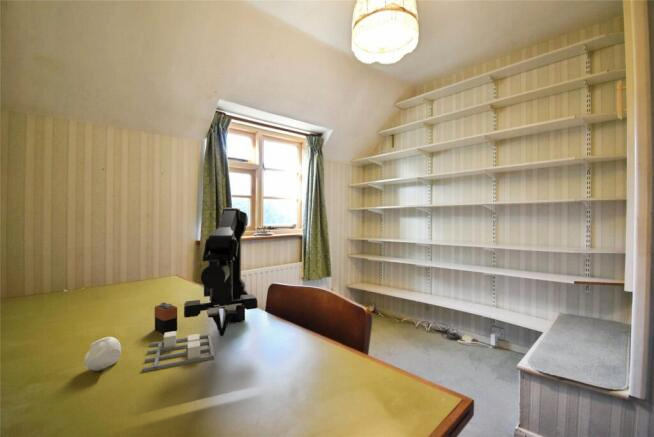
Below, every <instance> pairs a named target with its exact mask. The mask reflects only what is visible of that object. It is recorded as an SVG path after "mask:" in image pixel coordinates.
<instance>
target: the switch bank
mask: <svg viewBox="0 0 654 437" xmlns="http://www.w3.org/2000/svg"><path fill="white" fill-rule="evenodd" d="M199 337H200V339H205V338H207V340H205V341H200V346H203V345H208V347H203V348H200V354H202V353H207V352H209V354H210V355H204V356H200V357H198V358H192V359H188V358H187V359H182V360H177V361H171V362H167V363H161V364H159V363H160V362H159V361H161V360H167V359H172V358H177V357H183V356H188V350H187V351H181V352H176V353H169V354H163V355H161V353H162V352H168V351H169V352H170V351H174V350H180V349H188V343H185V344H179V345H176V346H172V347H166V348H164V347H162V346H164V340H163V341H154V342H150V343H149V344H148V345H149V347H155V346H156V347H157V348H155V349H149V350H146V351H147V352H146V355H150V354H155V356H153V357H146V358H144V363H149V362H154V363H153V365H149V366H145V367H142V368H141V372H142V373H143V372H148V371H155V370H160V369H164V368H171V367H175V366H181V365H186V364H190V363H196V362H201V361H202V362H203V361H207V360H212V359H215V351H214V346H213V340H212V336H211V333H206V334H199ZM181 342H188V336H186V337H181V338H176V343H181ZM149 347H148V348H149Z"/></svg>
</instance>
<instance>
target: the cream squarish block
mask: <svg viewBox="0 0 654 437" xmlns="http://www.w3.org/2000/svg"><path fill="white" fill-rule="evenodd" d="M176 339H177V331H173V332H166V333H165V334H163V341H164V344H163V348H166V347H172V346H177V342H176Z"/></svg>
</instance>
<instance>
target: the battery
mask: <svg viewBox="0 0 654 437" xmlns="http://www.w3.org/2000/svg"><path fill="white" fill-rule="evenodd" d="M154 331H155V332H158V333H160V334H162V335H164V334H165V333H166V332H173V331H176V332H177V331H178V306H175V305H172V303H167V302H160V305H155V306H154Z"/></svg>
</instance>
